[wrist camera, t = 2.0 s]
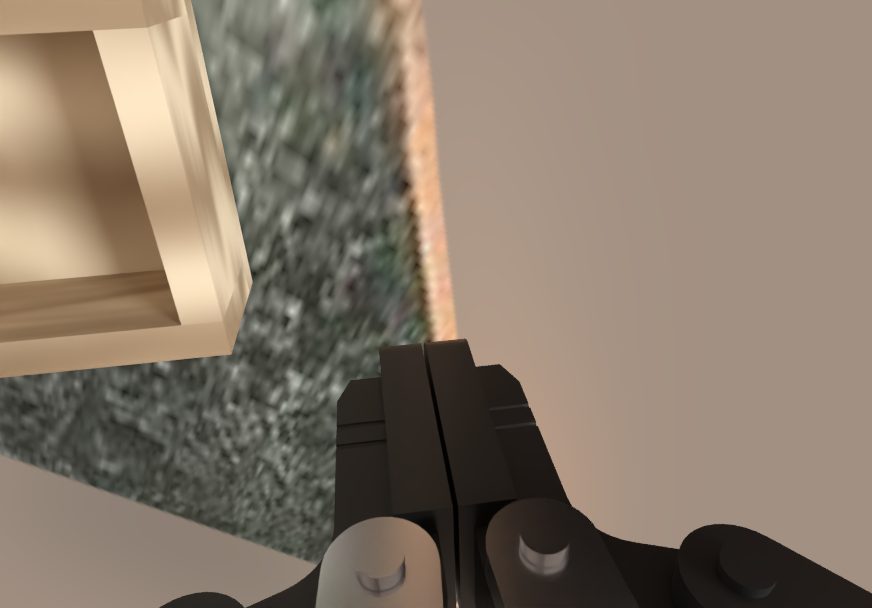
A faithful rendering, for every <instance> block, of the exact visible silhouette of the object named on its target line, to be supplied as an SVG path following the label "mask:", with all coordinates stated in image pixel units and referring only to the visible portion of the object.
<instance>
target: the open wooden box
mask: <svg viewBox="0 0 872 608" xmlns="http://www.w3.org/2000/svg"><path fill="white" fill-rule="evenodd" d="M251 285H252V277H251V273H250V268H249V264H248V259H247V255H246V250H245V245H244V241H243V236H242V232H241V227H240V223H239V218H238V213H237V209H236V204H235V200H234V195H233V191H232V186H231V181H230V177H229V172H228V168H227V163H226V159H225V154H224V149H223V145H222V140H221V136H220V131H219V127H218V122H217V117H216V113H215V108H214V104H213V99H212V95H211V90H210V85H209V81H208V76H207V72H206V67H205V63H204V58H203V54H202V49H201V44H200V40H199V35H198V31H197V26H196V22H195V17H194V12H193V8H192V3H191V0H0V378H2V377H12V376H22V375H32V374H42V373H52V372H61V371H71V370H81V369H91V368H101V367H110V366H120V365H130V364H140V363H150V362H160V361H169V360H179V359H189V358H199V357H209V356H218V355H228V354H231V353H232V350H233V347H234V343H235V340H236V336H237V333H238V330H239V326H240V323H241V319H242V316H243V313H244V309H245V306H246V302H247V299H248V296H249V292H250V289H251Z"/></svg>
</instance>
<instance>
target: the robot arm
mask: <svg viewBox="0 0 872 608" xmlns="http://www.w3.org/2000/svg"><path fill="white" fill-rule="evenodd" d="M379 353H380V366H381V377H378V378H368V379H359V380H350V382H349V384H348V385H347V387H346V389H345V390H344V392H343V393H342V395H341V397H340V398H339V400H338V401H337V436H336V447H337V450H336V476H335V517H334V533H333V538H332V541H331V544H330V547H329V548H328V550H327V551H326V553H325V556H324V557H323V559H322V560H321V562H320V563H319V564H318V565H317V567H316V568H315V569H314V570H313V571H312V572H311V573H310V574H308V575H307V576H306V577H305V578H304V579H302V580H301V581H300V582H298V583H297V584H295V585H294V586H292V587H290V588H288V589H286V590H284V591H282V592H280V593H278V594H275V595H273V596H271V597H269V598H266V599H264V600H262V601H260V602H258V603H255V604H253V605H251V606H249V607H246V608H456V594H457V600H458V606H459V608H872V593H870V592H868V591H866V590H864V589H863V588H861V587H859V586H857V585H855V584H853V583H852V582H850V581H848V580H846V579H844V578H842V577H841V576H839V575H837V574H835V573H833V572H831V571H829V570H828V569H826V568H824V567H822V566H820V565H818V564H816V563H815V562H813V561H811V560H809V559H807V558H805V557H804V556H801V555H800V554H798V553H796V552H794V551H792V550H791V549H789V548H787V547H785V546H783V545H781V544H780V543H778V542H776V541H774V540H772V539H770V538H768V537H767V536H764V535H762V534H760V533H758V532H756V531H753V530H750V529H747V528H744V527H740V526H736V525H728V524H713V525H707V526H703V527H701V528H699V529H696V530H694V531H693V532H691V533H690V534H689V535H688V536H687V537H686V538H685V539H684V540H683V542H682V544H681V546H680V549H674V548H667V547H661V546H655V545H648V544H642V543H636V542H630V541H625V540H622V539H618V538H616V537H613V536H610V535H608V534H606V533H603V532H601V531H600V530H598V529H597V528H596V527H595V526H594V524H593V523H592V522H591V521H590V520H589V519H588V518H587V516H585V515H584V514H583V513H582V512H580V511H579V510H577V509H576V508H574V507H572V505H571V504H570V502H569V500H568V498H567V496H566V493H565V491H564V489H563V486H562V484H561V481H560V479H559V477H558V474H557V472H556V469H555V467H554V464H553V462H552V459H551V457H550V455H549V452H548V450H547V448H546V445H545V443H544V440H543V438H542V435H541V433H540V430H539V428H538V426H536V421H535V418H534V416H533V413H532V411H531V408H529V406H528V401H527V399H526V396H525V394H524V392H523V389H522V387H521V384H520V382H519V381H518V380H517V379H516V378H515V377H513V375H511V374H510V373H509V372H508V371H507V370H506V369H505V368H503V367H502V366H501V365H500V364H498V365H488V366H479V367H475V363H474V361H473V357H472V354H471V351H470V348H469V345H468V342H467V340H466V339H457V340H448V341H438V342H428V343H424V355H423V350H422V345H421V343H420V344H410V345H400V346H390V347H381V348H379ZM160 608H244V607H243V606H242V605H241V604H240V603H239V602H238V601H236V600H235V599H233V598H231V597H229V596H227V595H224V594H220V593H215V592H201V593H194V594H190V595H186V596H183V597H180V598H177V599H175V600H172V601H171V602H169V603H167V604H165V605H163V606H161V607H160Z"/></svg>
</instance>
